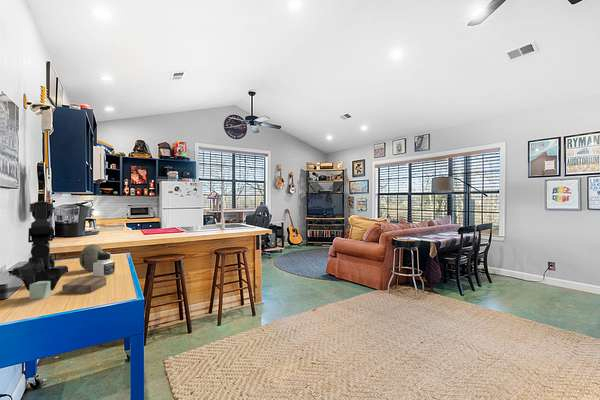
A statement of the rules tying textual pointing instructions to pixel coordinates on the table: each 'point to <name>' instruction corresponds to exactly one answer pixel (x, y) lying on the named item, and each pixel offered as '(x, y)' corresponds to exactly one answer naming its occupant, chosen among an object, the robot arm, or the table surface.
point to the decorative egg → (89, 256)
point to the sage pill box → (40, 290)
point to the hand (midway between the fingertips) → (40, 290)
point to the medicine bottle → (103, 265)
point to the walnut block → (84, 285)
